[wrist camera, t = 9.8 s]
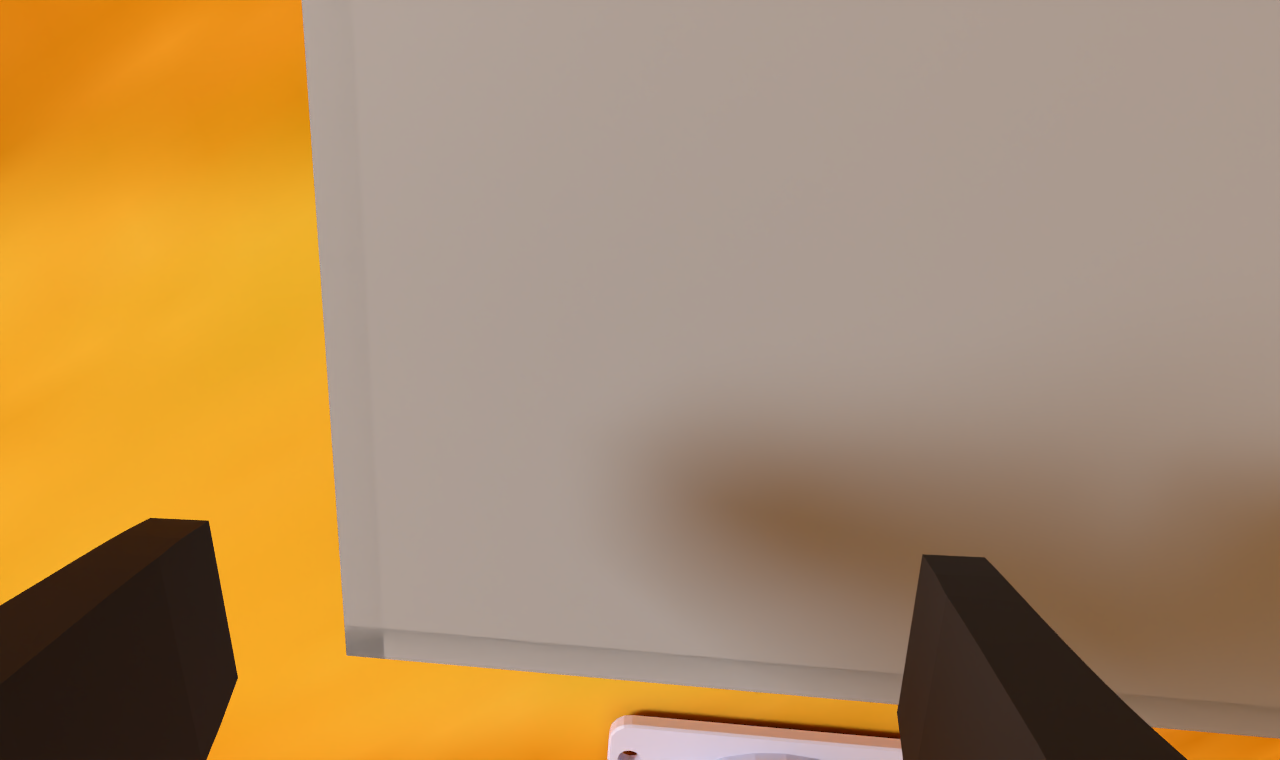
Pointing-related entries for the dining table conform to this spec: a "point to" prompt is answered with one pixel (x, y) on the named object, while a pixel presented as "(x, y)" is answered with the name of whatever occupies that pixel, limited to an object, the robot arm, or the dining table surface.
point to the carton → (804, 334)
